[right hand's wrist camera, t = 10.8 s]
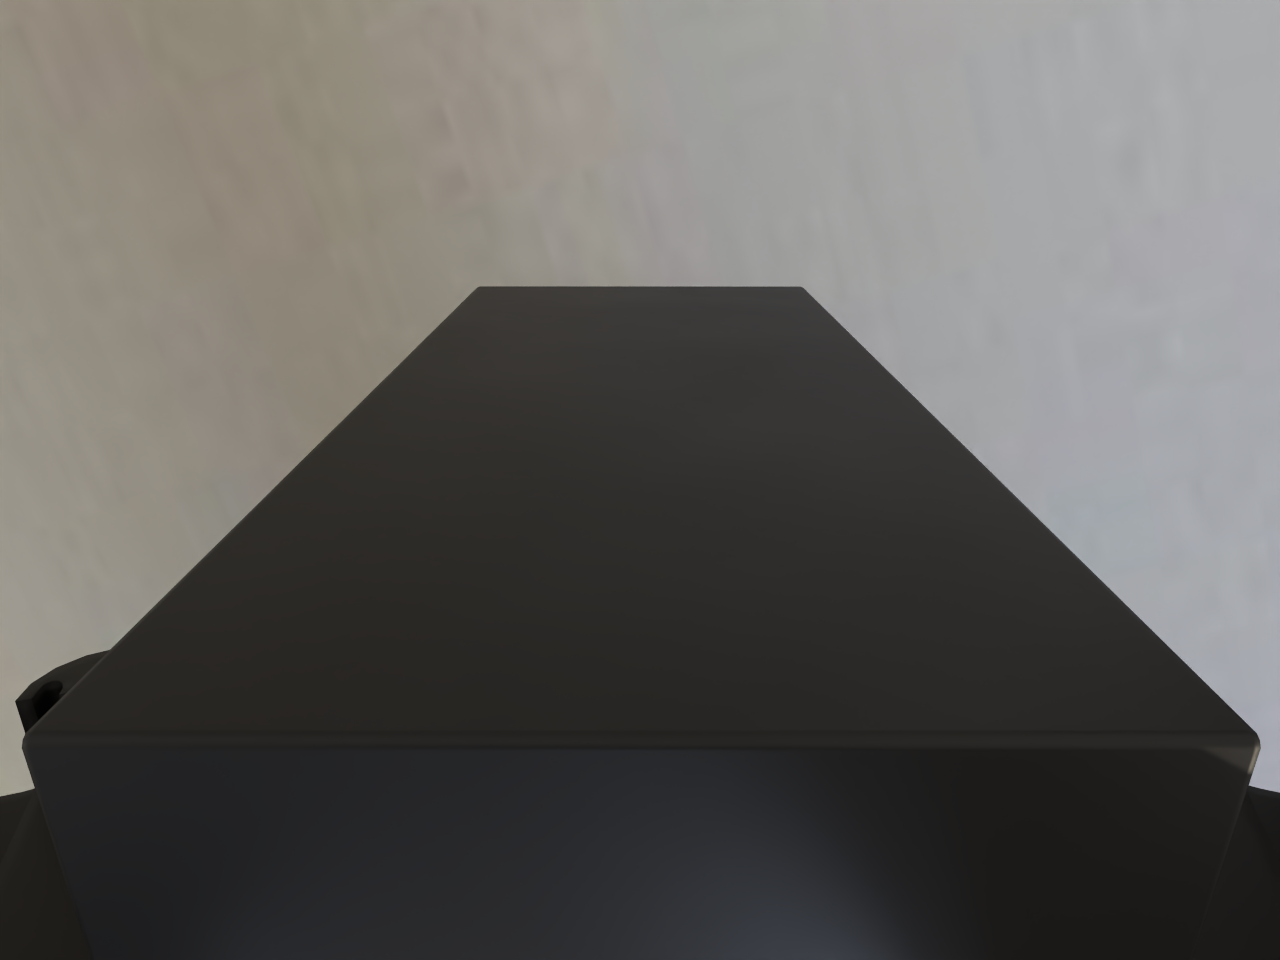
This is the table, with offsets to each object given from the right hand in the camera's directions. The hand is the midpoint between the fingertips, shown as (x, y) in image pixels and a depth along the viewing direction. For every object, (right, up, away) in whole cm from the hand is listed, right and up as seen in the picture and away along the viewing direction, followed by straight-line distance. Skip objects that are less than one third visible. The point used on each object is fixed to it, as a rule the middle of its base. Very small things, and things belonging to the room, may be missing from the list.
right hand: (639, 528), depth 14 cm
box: (0, -8, +7) cm, 10 cm away
